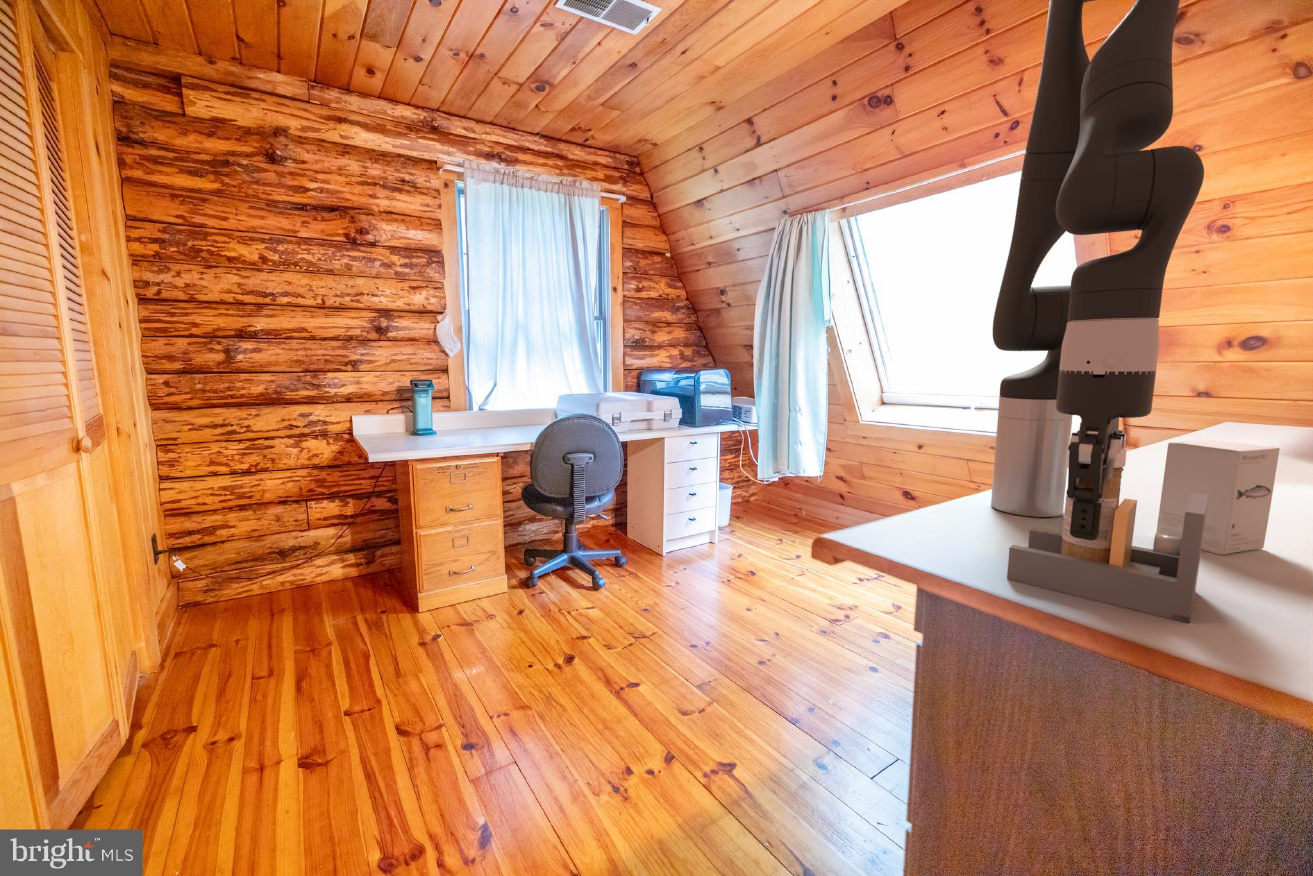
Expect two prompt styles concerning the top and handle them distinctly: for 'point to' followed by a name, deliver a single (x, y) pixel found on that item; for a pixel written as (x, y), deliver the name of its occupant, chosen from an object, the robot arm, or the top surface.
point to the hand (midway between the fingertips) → (1088, 531)
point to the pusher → (1126, 538)
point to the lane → (1121, 569)
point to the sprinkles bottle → (1102, 544)
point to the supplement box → (1220, 492)
